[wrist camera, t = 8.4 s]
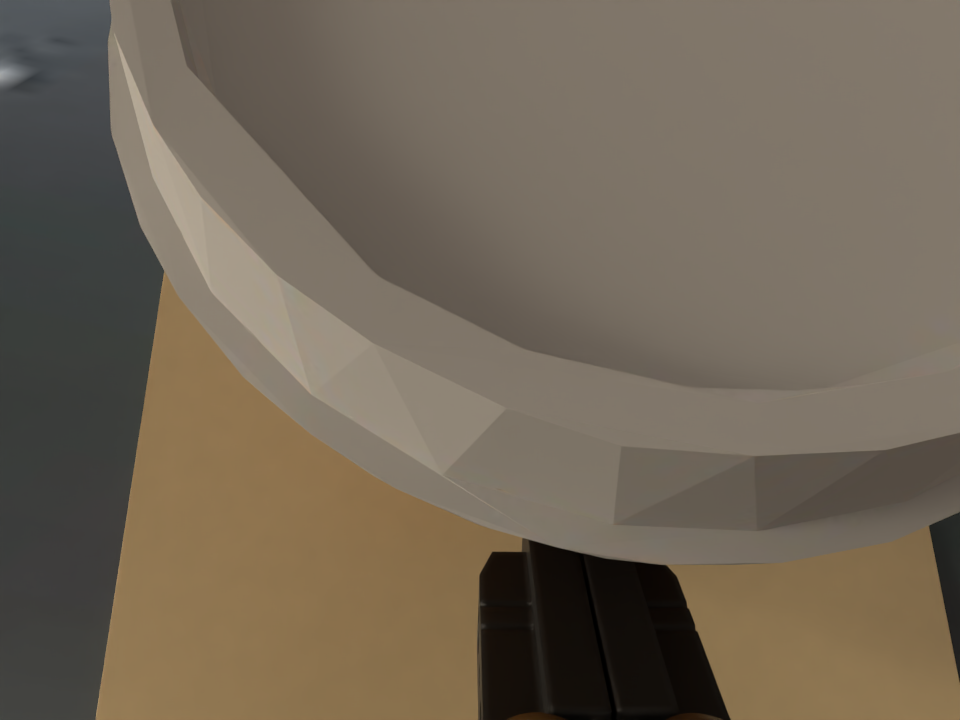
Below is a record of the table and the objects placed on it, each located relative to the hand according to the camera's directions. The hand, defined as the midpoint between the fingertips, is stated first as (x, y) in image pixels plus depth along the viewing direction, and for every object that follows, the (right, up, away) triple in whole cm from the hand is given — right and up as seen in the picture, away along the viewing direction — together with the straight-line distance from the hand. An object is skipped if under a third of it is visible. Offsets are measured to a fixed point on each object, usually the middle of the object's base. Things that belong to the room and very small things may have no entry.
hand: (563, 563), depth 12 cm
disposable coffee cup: (0, +3, +5) cm, 6 cm away
